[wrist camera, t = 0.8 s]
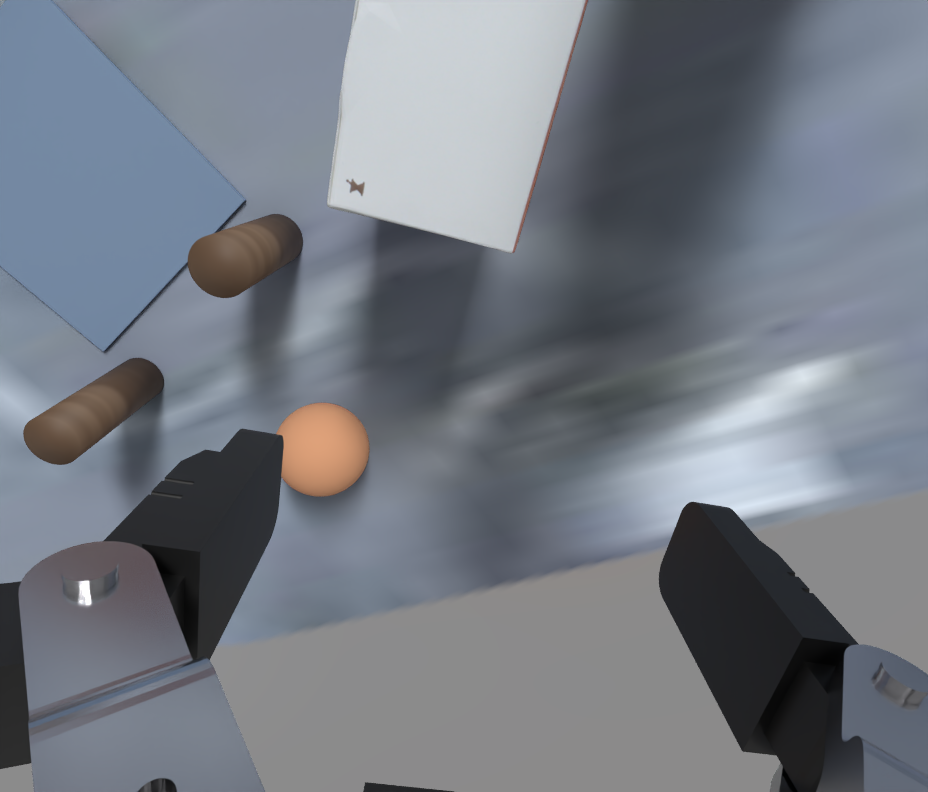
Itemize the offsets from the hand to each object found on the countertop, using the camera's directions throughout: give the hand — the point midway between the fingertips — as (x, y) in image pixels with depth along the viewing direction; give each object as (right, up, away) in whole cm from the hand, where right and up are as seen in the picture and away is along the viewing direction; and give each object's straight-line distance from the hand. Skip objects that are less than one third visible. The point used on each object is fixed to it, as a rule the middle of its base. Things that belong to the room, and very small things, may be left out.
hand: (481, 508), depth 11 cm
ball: (-9, -1, +22) cm, 23 cm away
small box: (-1, +16, +17) cm, 24 cm away
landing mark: (-21, +13, +18) cm, 31 cm away
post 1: (-20, +3, +23) cm, 30 cm away
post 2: (-11, +11, +19) cm, 25 cm away
